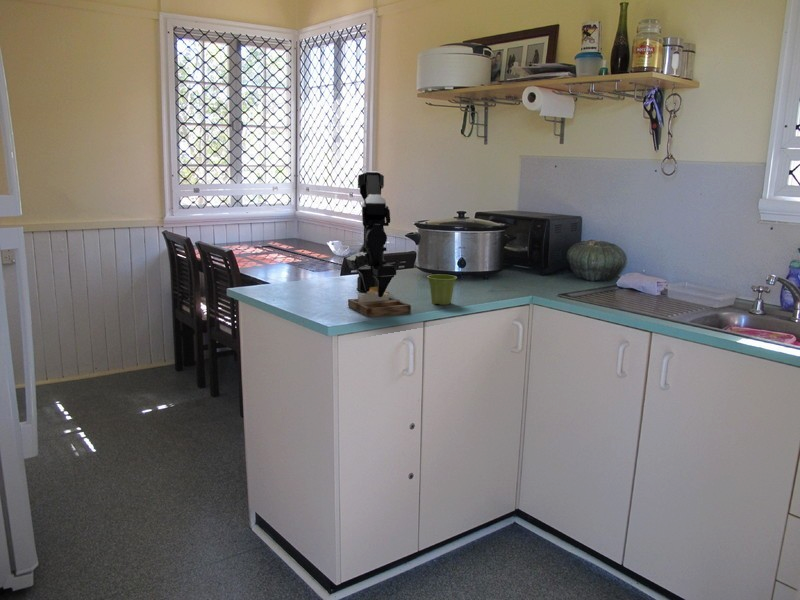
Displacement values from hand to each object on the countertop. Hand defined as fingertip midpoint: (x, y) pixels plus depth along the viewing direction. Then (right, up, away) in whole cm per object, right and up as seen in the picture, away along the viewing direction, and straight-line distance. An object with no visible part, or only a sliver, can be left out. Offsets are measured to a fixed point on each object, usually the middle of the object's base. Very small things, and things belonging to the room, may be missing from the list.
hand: (373, 294), depth 205 cm
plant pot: (+21, -3, +10) cm, 24 cm away
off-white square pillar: (0, -3, +1) cm, 4 cm away
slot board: (+2, -5, -2) cm, 6 cm away
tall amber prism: (+1, -2, +13) cm, 13 cm away
